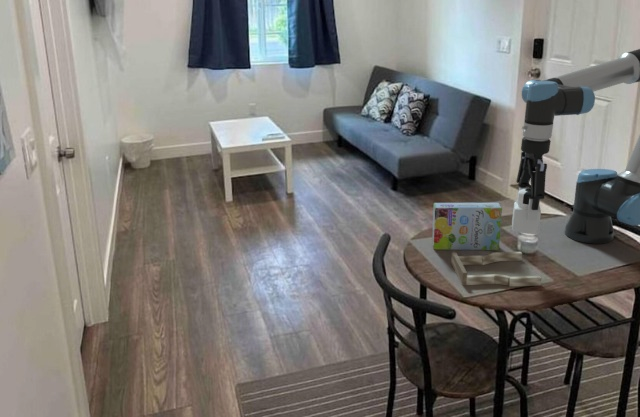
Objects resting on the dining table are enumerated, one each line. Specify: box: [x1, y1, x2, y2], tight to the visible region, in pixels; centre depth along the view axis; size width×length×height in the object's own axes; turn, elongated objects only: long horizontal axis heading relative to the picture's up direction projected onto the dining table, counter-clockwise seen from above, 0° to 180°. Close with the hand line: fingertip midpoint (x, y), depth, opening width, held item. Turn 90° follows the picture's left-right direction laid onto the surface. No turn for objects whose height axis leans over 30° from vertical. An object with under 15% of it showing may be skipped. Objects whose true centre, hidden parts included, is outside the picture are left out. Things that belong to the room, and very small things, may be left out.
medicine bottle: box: [511, 188, 542, 235], centre depth 165 cm, size 7×7×12 cm
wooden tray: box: [450, 251, 543, 287], centre depth 170 cm, size 22×17×4 cm
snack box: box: [431, 202, 503, 251], centre depth 186 cm, size 21×6×15 cm, turn 84°
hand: (526, 213), depth 166 cm, fingers closed on medicine bottle, 8 cm apart
